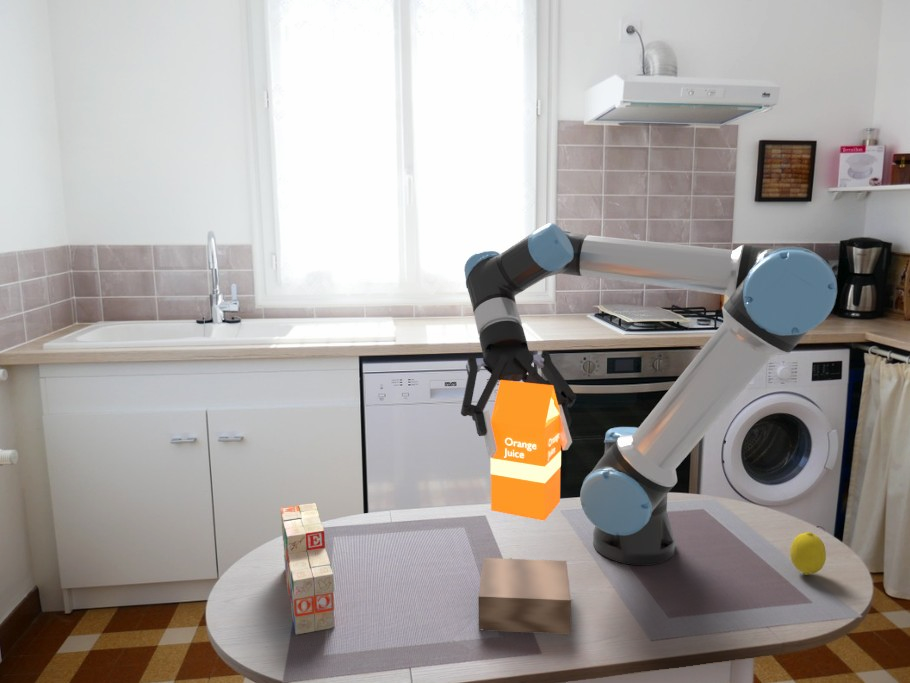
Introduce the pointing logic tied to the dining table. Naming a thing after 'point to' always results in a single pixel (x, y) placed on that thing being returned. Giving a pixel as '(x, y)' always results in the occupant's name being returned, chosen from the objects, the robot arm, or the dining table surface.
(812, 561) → the lemon
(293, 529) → the stack of blocks
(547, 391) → the orange juice
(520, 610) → the base brick
